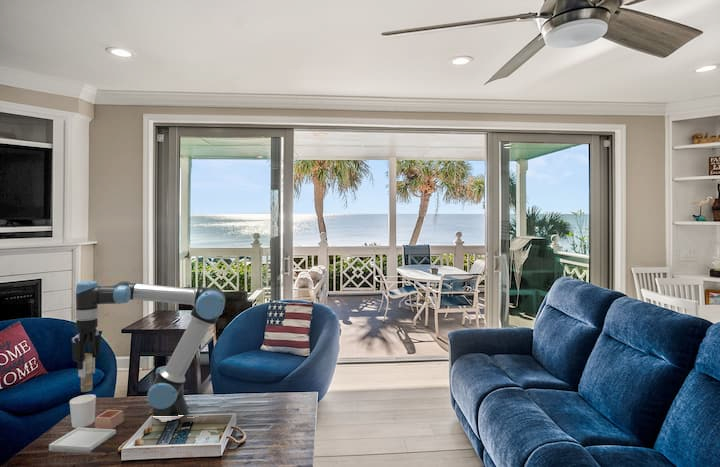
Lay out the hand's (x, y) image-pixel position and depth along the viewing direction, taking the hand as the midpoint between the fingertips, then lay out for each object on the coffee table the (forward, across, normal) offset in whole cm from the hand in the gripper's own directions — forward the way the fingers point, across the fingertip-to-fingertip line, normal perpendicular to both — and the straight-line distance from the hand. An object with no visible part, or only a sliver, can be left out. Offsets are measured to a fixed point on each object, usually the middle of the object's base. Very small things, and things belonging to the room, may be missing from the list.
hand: (86, 374), depth 168 cm
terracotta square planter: (+27, -10, +2) cm, 29 cm away
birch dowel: (+7, 0, 0) cm, 7 cm away
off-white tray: (+27, +3, +1) cm, 27 cm away
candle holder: (+28, -10, -12) cm, 32 cm away
